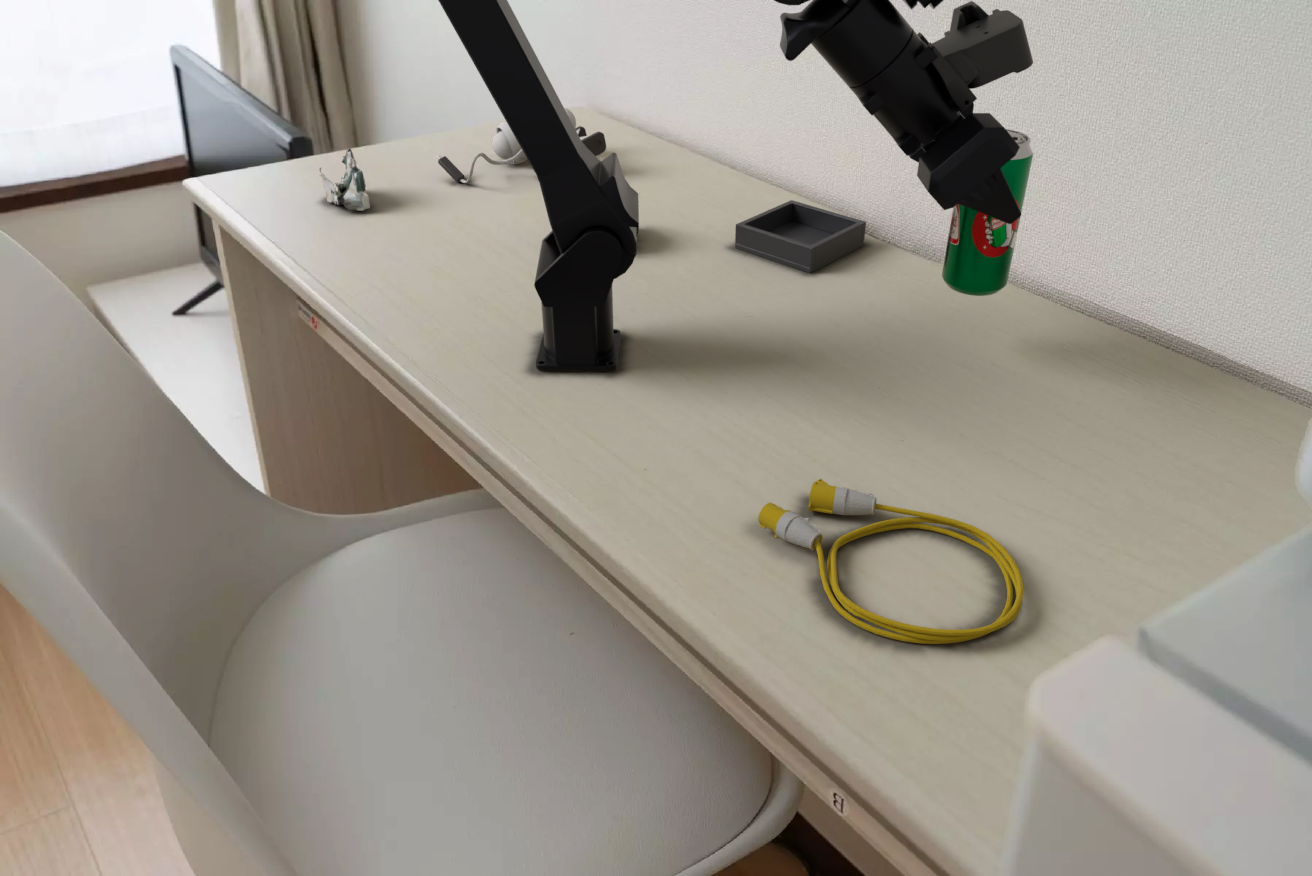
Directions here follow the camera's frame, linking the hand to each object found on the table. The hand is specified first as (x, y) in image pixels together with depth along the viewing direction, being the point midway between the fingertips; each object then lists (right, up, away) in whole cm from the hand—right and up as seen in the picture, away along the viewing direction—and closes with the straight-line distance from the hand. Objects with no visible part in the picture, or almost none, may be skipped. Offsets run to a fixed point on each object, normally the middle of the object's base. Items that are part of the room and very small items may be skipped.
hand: (1005, 206), depth 82 cm
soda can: (-1, -6, +4) cm, 7 cm away
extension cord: (-12, -26, -17) cm, 33 cm away
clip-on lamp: (-43, +14, +44) cm, 63 cm away
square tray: (-12, +1, +25) cm, 28 cm away
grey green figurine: (-61, +8, +36) cm, 71 cm away
